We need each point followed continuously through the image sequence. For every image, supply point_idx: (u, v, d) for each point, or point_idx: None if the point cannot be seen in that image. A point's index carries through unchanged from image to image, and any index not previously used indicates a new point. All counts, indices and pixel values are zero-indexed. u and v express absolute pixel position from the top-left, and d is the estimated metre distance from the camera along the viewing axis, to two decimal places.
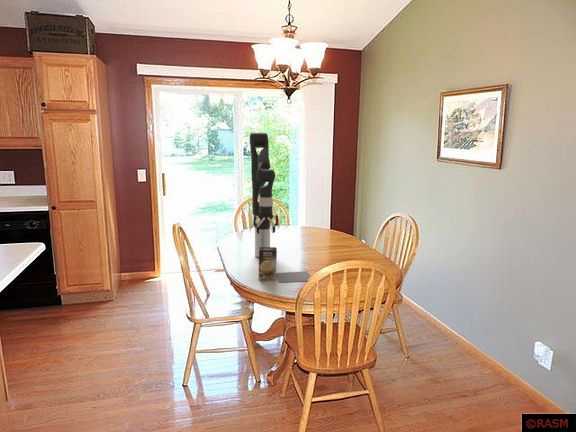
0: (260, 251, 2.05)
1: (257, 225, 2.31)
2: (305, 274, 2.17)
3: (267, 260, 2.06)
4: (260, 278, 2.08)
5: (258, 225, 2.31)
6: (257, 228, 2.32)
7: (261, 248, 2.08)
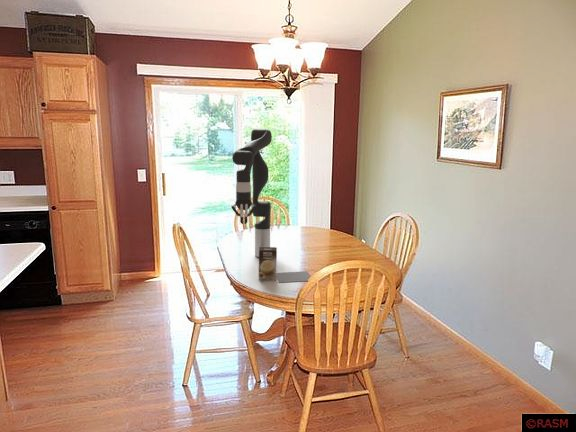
0: (260, 251, 2.05)
1: (241, 215, 2.11)
2: (305, 274, 2.17)
3: (267, 260, 2.06)
4: (260, 278, 2.08)
5: (242, 215, 2.11)
6: (241, 218, 2.12)
7: (261, 248, 2.08)
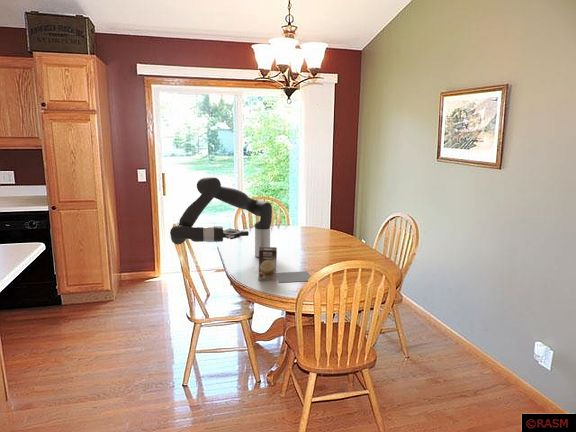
0: (260, 251, 2.05)
1: None
2: (305, 274, 2.17)
3: (267, 260, 2.06)
4: (260, 278, 2.08)
5: None
6: None
7: (261, 248, 2.08)
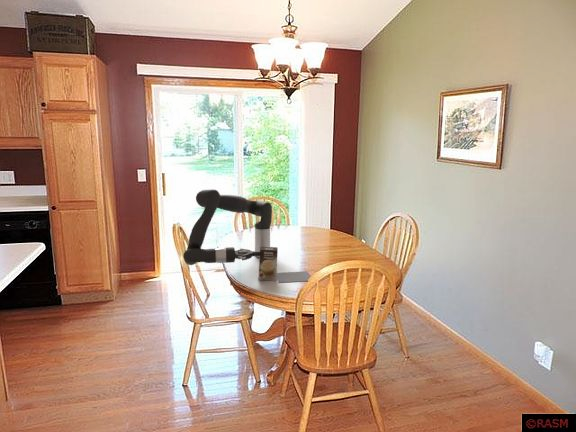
0: (261, 251, 2.05)
1: None
2: (305, 274, 2.17)
3: (268, 260, 2.06)
4: (260, 278, 2.08)
5: None
6: None
7: (262, 248, 2.08)
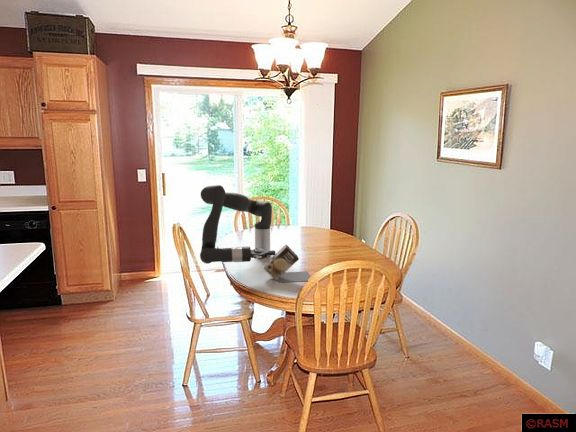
0: (286, 249, 2.05)
1: (265, 254, 2.09)
2: (305, 274, 2.17)
3: (285, 260, 2.06)
4: (266, 268, 2.07)
5: None
6: None
7: (287, 247, 2.09)
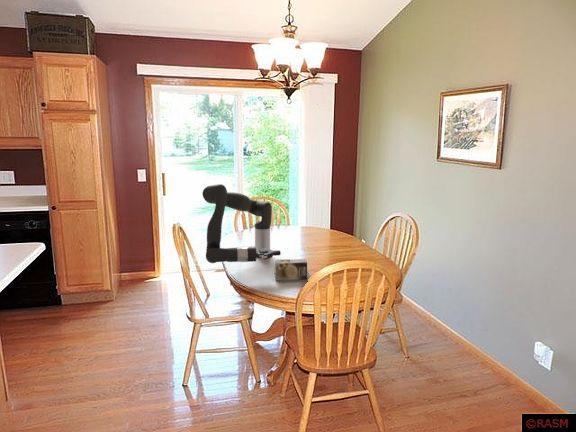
0: (306, 264, 2.08)
1: None
2: None
3: (297, 271, 2.08)
4: (278, 265, 2.07)
5: None
6: None
7: None
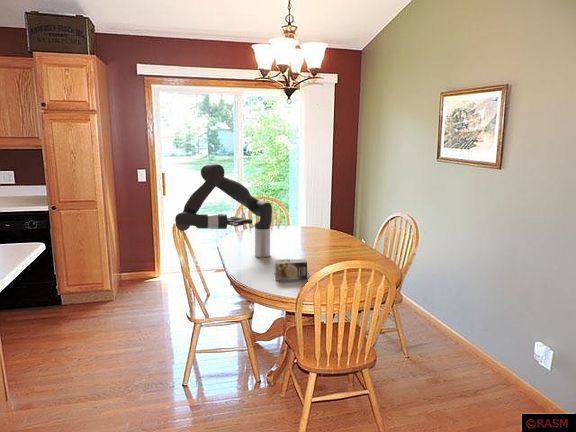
0: (306, 264, 2.08)
1: None
2: None
3: (297, 271, 2.08)
4: (278, 265, 2.07)
5: None
6: None
7: None
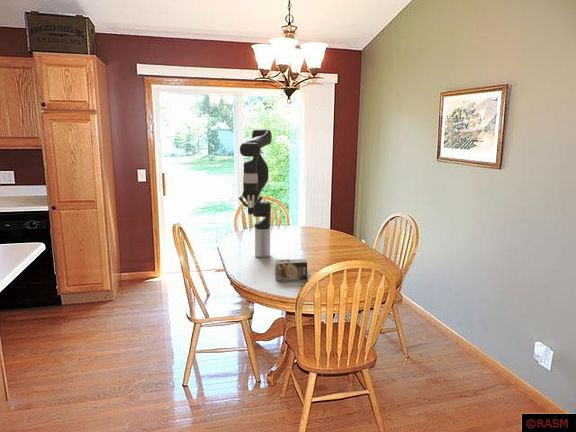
0: (306, 264, 2.08)
1: (248, 205, 2.15)
2: None
3: (297, 271, 2.08)
4: (278, 265, 2.07)
5: None
6: (248, 209, 2.16)
7: None
